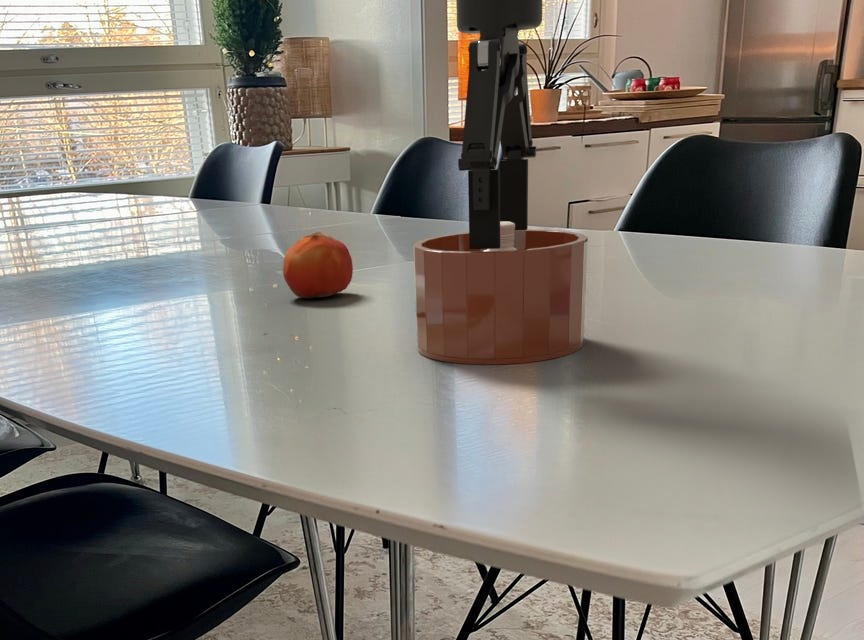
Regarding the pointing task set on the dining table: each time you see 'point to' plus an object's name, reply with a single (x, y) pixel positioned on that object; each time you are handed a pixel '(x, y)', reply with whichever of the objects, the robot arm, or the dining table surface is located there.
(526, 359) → the crock
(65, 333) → the dining table surface
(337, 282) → the tomato
